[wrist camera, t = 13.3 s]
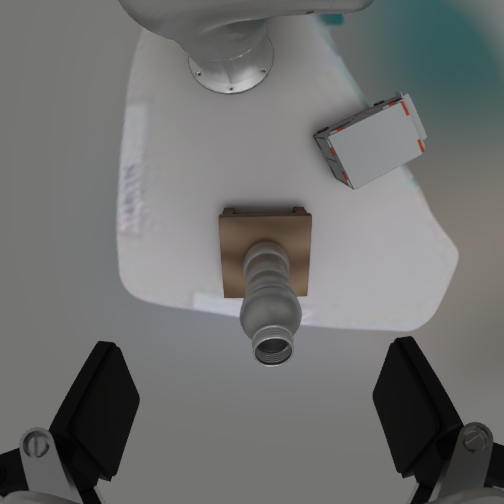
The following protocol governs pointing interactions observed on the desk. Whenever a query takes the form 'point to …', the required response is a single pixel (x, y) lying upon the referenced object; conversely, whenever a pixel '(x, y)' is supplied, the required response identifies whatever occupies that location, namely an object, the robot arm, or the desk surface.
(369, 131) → the toy vehicle
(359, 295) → the desk surface
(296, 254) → the walnut stand
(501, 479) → the robot arm
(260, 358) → the plastic bottle
